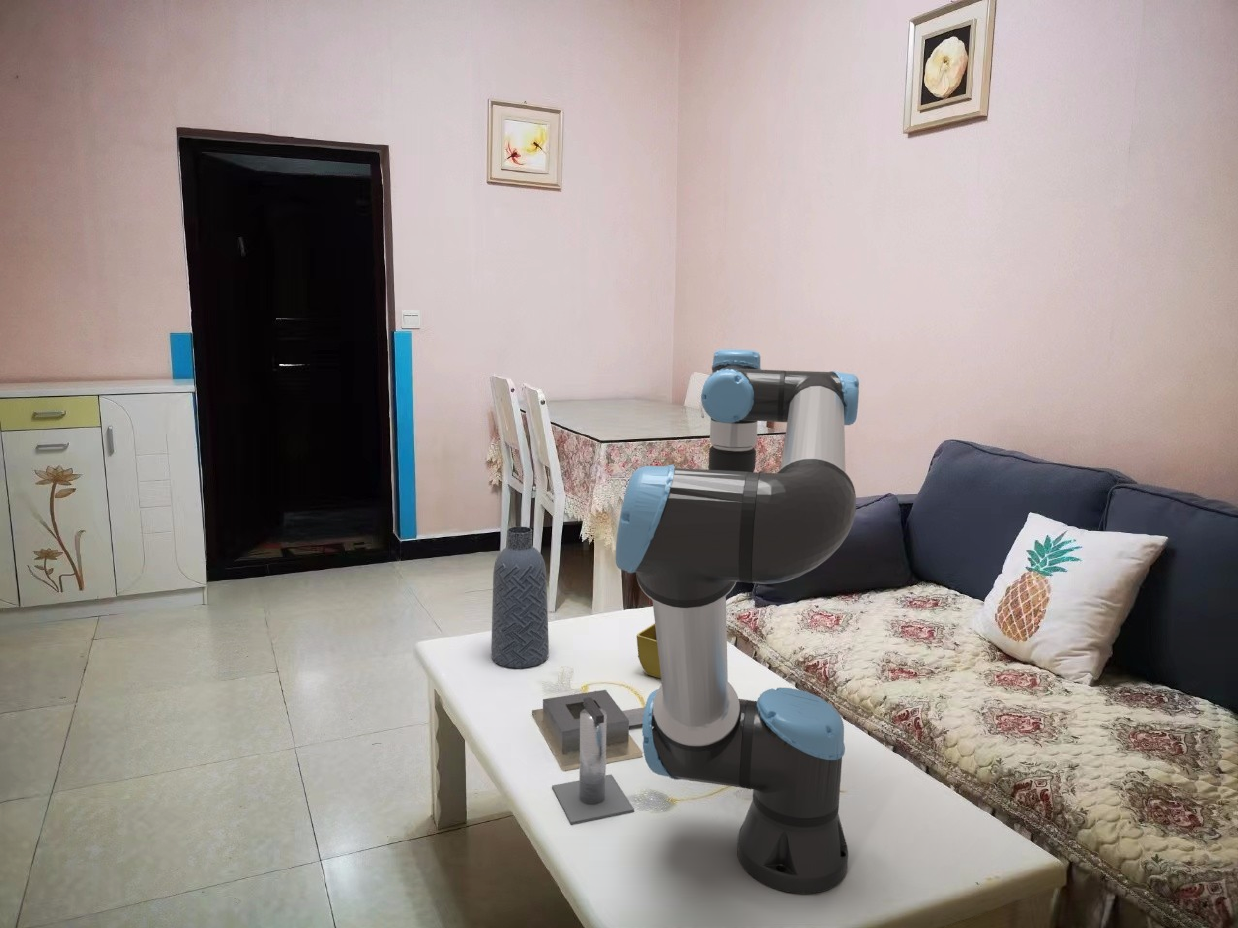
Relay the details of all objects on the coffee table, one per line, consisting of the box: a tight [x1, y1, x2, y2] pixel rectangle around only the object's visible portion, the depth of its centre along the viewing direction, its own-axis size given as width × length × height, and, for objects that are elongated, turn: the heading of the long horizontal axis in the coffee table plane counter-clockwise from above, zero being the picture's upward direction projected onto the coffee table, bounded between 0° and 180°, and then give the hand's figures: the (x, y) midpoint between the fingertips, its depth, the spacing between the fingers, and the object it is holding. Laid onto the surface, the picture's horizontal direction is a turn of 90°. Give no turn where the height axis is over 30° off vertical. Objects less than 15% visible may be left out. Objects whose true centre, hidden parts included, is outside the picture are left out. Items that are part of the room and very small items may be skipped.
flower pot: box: [636, 622, 661, 679], centre depth 174 cm, size 9×9×9 cm
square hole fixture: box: [531, 689, 645, 772], centre depth 151 cm, size 20×20×5 cm
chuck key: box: [578, 697, 607, 805], centre depth 130 cm, size 6×4×15 cm, turn 20°
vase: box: [490, 526, 550, 669], centre depth 179 cm, size 12×12×28 cm
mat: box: [551, 773, 635, 825], centre depth 132 cm, size 10×10×1 cm
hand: (726, 572), depth 141 cm, fingers open, 13 cm apart
